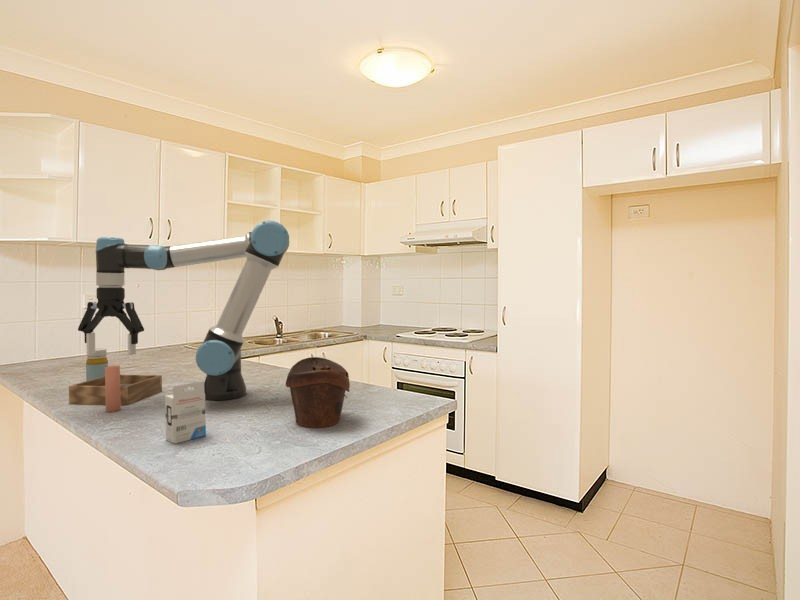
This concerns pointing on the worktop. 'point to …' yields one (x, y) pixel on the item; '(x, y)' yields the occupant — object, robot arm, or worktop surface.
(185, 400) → the ink box
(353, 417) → the worktop surface
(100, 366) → the bottle
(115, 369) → the peg
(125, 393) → the crate
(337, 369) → the chocolate muffin
